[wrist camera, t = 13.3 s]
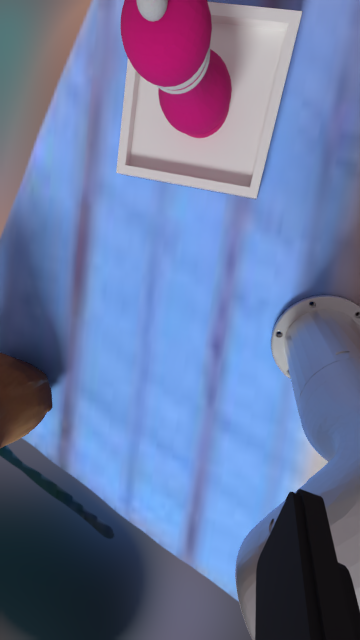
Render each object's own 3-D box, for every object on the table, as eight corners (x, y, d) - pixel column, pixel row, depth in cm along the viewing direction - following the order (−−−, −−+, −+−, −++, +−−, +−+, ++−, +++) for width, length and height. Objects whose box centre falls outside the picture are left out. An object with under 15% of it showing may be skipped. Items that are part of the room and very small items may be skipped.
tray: (299, 24, 33) (302, 11, 31) (256, 199, 39) (256, 198, 37) (141, 7, 35) (134, -6, 33) (123, 174, 41) (116, 172, 39)
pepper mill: (180, 61, 35) (100, -114, 17) (243, 78, 35) (233, -84, 16) (162, 133, 38) (75, 51, 19) (221, 151, 37) (189, 84, 18)
